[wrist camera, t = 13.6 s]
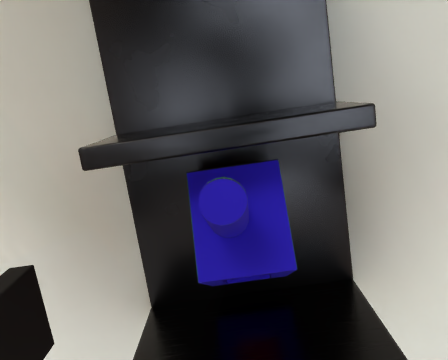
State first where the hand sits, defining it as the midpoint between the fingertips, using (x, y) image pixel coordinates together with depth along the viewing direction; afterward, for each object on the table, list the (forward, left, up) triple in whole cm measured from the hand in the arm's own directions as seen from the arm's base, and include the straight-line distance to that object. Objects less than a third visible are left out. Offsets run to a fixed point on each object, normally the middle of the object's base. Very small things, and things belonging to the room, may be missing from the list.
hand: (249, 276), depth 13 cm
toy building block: (0, 0, -7) cm, 7 cm away
